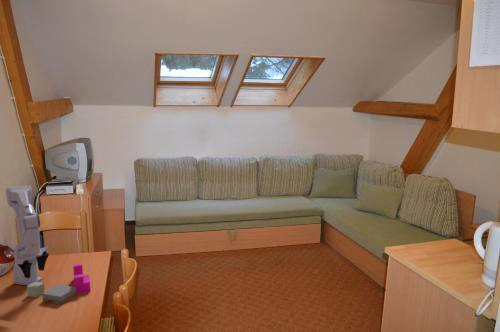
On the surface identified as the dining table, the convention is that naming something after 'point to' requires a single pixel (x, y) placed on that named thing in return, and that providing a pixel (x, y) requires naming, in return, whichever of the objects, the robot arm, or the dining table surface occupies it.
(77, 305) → the dining table surface
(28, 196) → the robot arm
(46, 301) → the grey square slab
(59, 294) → the slate top slab
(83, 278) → the toy block
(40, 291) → the sage cube
